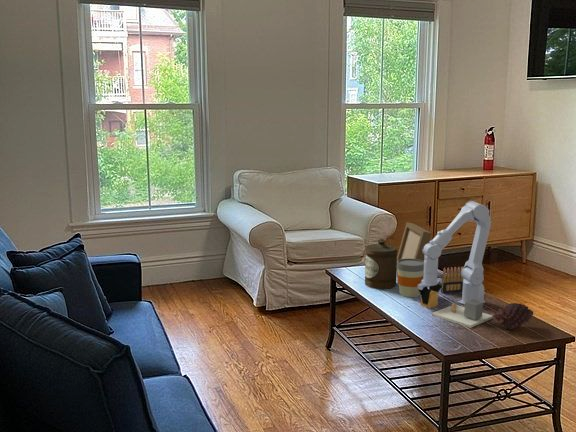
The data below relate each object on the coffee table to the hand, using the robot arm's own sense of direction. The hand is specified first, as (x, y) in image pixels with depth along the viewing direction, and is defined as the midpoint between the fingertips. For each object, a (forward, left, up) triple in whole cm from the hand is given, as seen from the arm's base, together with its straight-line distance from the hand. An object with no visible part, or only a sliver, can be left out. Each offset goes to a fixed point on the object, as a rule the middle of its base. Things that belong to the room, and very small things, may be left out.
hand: (429, 302), depth 261 cm
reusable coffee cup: (-6, -15, -2) cm, 16 cm away
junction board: (+1, +17, -1) cm, 17 cm away
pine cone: (-4, +37, -2) cm, 37 cm away
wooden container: (-7, -33, -2) cm, 34 cm away
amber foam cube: (0, 0, -1) cm, 1 cm away
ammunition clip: (-23, -4, -2) cm, 23 cm away
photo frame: (-31, -31, -2) cm, 44 cm away
